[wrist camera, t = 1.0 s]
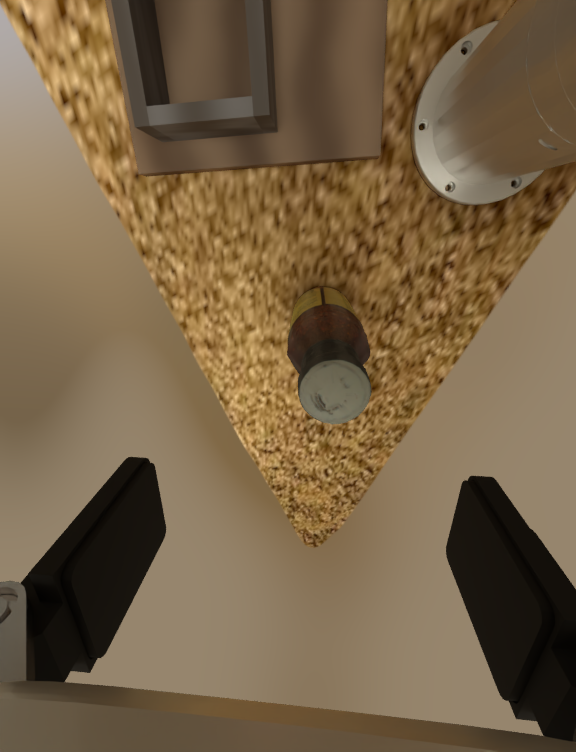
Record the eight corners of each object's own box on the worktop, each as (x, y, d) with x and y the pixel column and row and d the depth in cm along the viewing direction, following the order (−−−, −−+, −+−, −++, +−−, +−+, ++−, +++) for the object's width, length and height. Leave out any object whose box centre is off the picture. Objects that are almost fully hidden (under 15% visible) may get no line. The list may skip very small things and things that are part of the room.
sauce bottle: (294, 341, 39) (269, 442, 20) (292, 284, 36) (262, 341, 18) (353, 341, 38) (382, 444, 20) (355, 283, 35) (390, 340, 17)
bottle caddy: (388, -100, 25) (410, -204, 19) (377, 158, 31) (391, 142, 25) (103, -57, 27) (41, -137, 21) (146, 176, 33) (108, 164, 27)
